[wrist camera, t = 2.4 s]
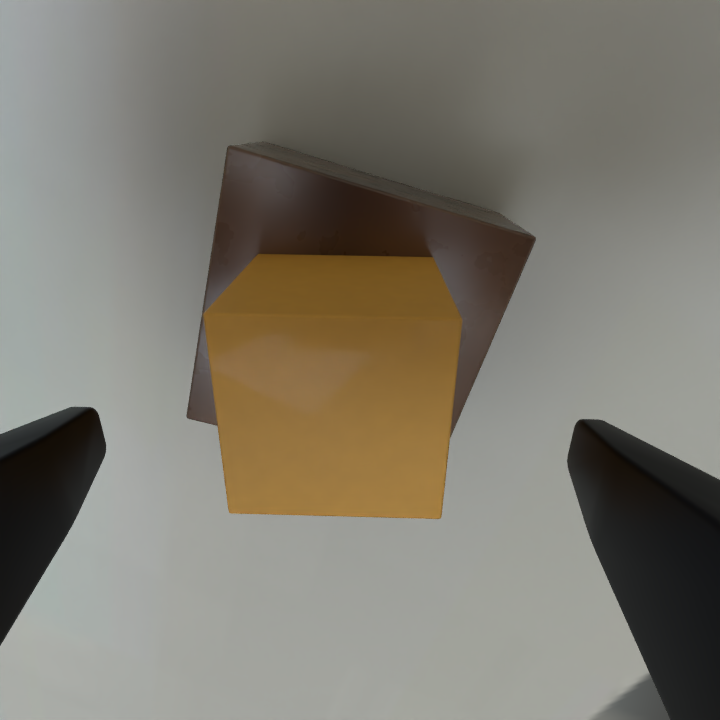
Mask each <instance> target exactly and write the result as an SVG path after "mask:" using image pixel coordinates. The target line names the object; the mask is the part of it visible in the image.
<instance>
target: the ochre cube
mask: <svg viewBox="0 0 720 720" xmlns="http://www.w3.org/2000/svg"><path fill="white" fill-rule="evenodd" d="M203 317H204V325H205V333H206V340H207V348H208V356H209V363H210V371H211V379H212V386H213V394H214V402H215V409H216V417H217V425H218V433H219V440H220V448H221V456H222V463H223V471H224V479H225V486H226V494H227V502H228V509H229V513H238V514H275V515H313V516H351V517H389V518H426V519H440V518H441V515H442V506H443V497H444V487H445V478H446V469H447V459H448V450H449V441H450V432H451V422H452V413H453V404H454V395H455V385H456V376H457V367H458V357H459V348H460V339H461V330H462V318H461V315H460V313H459V311H458V309H457V307H456V305H455V303H454V301H453V298H452V296H451V294H450V292H449V290H448V288H447V286H446V283H445V281H444V279H443V277H442V275H441V273H440V271H439V269H438V266H437V264H436V262H435V260H434V258H433V257H399V256H344V255H289V254H258V255H257V256H256V257H255V258H254V259H253V260H252V261H251V262H250V263H249V264H248V265H247V266H246V268H245V269H244V270H243V271H242V272H241V273H240V274H239V275H238V276H237V277H236V278H235V280H234V281H233V282H232V283H231V284H230V285H229V286H228V287H227V288H226V289H225V290H224V292H223V293H222V294H221V295H220V296H219V297H218V298H217V299H216V300H215V301H214V303H213V304H212V305H211V306H210V307H209V308H208V309H207V310H206V311H205V312H204V314H203Z"/></svg>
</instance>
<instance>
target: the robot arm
mask: <svg viewBox="0 0 720 720" xmlns="http://www.w3.org/2000/svg"><path fill="white" fill-rule="evenodd" d="M105 453H106V442H105V438H104V434H103V430H102V426H101V422H100V418H99V415H98V412H97V411H96V410H95V409H94V408H91V407H70V408H67V409H64V410H62V411H59V412H57V413H54V414H52V415H49V416H46V417H44V418H41V419H39V420H36V421H33V422H31V423H28V424H26V425H23V426H20V427H18V428H15V429H13V430H10V431H8V432H5V433H2V434H0V645H1V644H2V642H3V640H4V639H5V637H6V635H7V634H8V632H9V630H10V629H11V627H12V625H13V624H14V622H15V620H16V619H17V617H18V615H19V614H20V612H21V610H22V609H23V607H24V605H25V604H26V602H27V600H28V599H29V597H30V595H31V594H32V592H33V590H34V589H35V587H36V585H37V584H38V582H39V580H40V579H41V577H42V575H43V574H44V572H45V571H46V569H47V567H48V566H49V564H50V562H51V561H52V559H53V557H54V556H55V554H56V552H57V551H58V549H59V547H60V546H61V544H62V542H63V541H64V539H65V537H66V535H67V534H68V532H69V530H70V528H71V527H72V525H73V523H74V521H75V519H76V517H77V515H78V513H79V511H80V509H81V506H82V504H83V502H84V500H85V498H86V496H87V493H88V491H89V489H90V487H91V485H92V483H93V481H94V478H95V476H96V474H97V472H98V470H99V468H100V465H101V463H102V461H103V459H104V456H105ZM567 463H568V469H569V473H570V476H571V479H572V482H573V486H574V489H575V492H576V495H577V498H578V502H579V505H580V508H581V511H582V514H583V518H584V521H585V524H586V527H587V530H588V533H589V536H590V539H591V541H592V544H593V546H594V549H595V551H596V553H597V556H598V558H599V560H600V562H601V565H602V567H603V569H604V571H605V574H606V576H607V578H608V580H609V583H610V585H611V587H612V589H613V592H614V594H615V596H616V598H617V601H618V603H619V605H620V607H621V610H622V612H623V614H624V616H625V619H626V621H627V623H628V625H629V628H630V630H631V632H632V634H633V637H634V639H635V641H636V643H637V646H638V648H639V650H640V652H641V655H642V657H643V659H644V661H645V664H646V666H647V668H648V670H649V673H650V675H651V677H652V679H653V682H654V684H655V686H656V688H657V691H658V693H659V695H660V697H661V700H662V702H663V704H664V706H665V708H666V711H667V713H668V715H669V718H670V720H720V480H719V479H717V478H715V477H713V476H711V475H709V474H707V473H705V472H703V471H701V470H699V469H697V468H695V467H693V466H691V465H689V464H687V463H686V462H684V461H682V460H680V459H678V458H676V457H674V456H672V455H670V454H668V453H666V452H664V451H662V450H660V449H658V448H656V447H654V446H652V445H650V444H648V443H646V442H644V441H642V440H640V439H638V438H636V437H634V436H632V435H630V434H628V433H626V432H624V431H623V430H621V429H619V428H617V427H615V426H613V425H611V424H609V423H607V422H605V421H603V420H594V419H581V420H579V421H578V422H577V423H576V425H575V427H574V431H573V436H572V440H571V444H570V448H569V453H568V459H567Z"/></svg>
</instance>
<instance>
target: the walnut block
mask: <svg viewBox="0 0 720 720" xmlns="http://www.w3.org/2000/svg"><path fill="white" fill-rule="evenodd" d="M535 241H536V238H535V237H534V236H533V235H531V234H530V233H528V232H527V231H525V230H524V229H522V228H521V227H519V226H518V225H516V224H515V223H513V222H512V221H510V220H509V219H507V218H506V217H504V216H503V215H501V214H500V213H497V212H494V211H491V210H488V209H484V208H481V207H478V206H474V205H471V204H468V203H464V202H461V201H458V200H455V199H451V198H448V197H445V196H441V195H438V194H435V193H431V192H428V191H425V190H422V189H418V188H415V187H412V186H408V185H405V184H402V183H398V182H395V181H392V180H388V179H385V178H382V177H379V176H375V175H372V174H369V173H365V172H362V171H359V170H355V169H352V168H349V167H346V166H342V165H339V164H336V163H332V162H329V161H326V160H322V159H319V158H316V157H313V156H309V155H306V154H303V153H299V152H296V151H293V150H289V149H286V148H283V147H280V146H276V145H273V144H270V143H266V142H255V143H247V144H239V145H230V146H228V147H227V153H226V159H225V166H224V172H223V179H222V186H221V192H220V199H219V205H218V212H217V219H216V225H215V232H214V238H213V245H212V251H211V258H210V265H209V271H208V278H207V284H206V291H205V298H204V304H203V311H202V317H201V324H200V330H199V337H198V344H197V350H196V357H195V363H194V370H193V377H192V383H191V390H190V396H189V403H188V409H187V418H188V419H192V420H196V421H200V422H205V423H209V424H213V425H217V417H216V409H215V402H214V394H213V386H212V379H211V371H210V363H209V356H208V348H207V340H206V333H205V325H204V317H203V314H204V312H205V311H206V310H207V309H208V308H209V307H210V306H211V305H212V304H213V303H214V301H215V300H216V299H217V298H218V297H219V296H220V295H221V294H222V293H223V292H224V290H225V289H226V288H227V287H228V286H229V285H230V284H231V283H232V282H233V281H234V280H235V278H236V277H237V276H238V275H239V274H240V273H241V272H242V271H243V270H244V269H245V268H246V266H247V265H248V264H249V263H250V262H251V261H252V260H253V259H254V258H255V257H256V256H257V255H258V254H289V255H344V256H399V257H433V258H434V260H435V262H436V264H437V266H438V269H439V271H440V273H441V275H442V277H443V279H444V281H445V283H446V286H447V288H448V290H449V292H450V294H451V296H452V298H453V301H454V303H455V305H456V307H457V309H458V311H459V313H460V315H461V318H462V330H461V339H460V348H459V357H458V367H457V376H456V385H455V395H454V404H453V413H452V422H451V432H450V437H451V435H452V433H453V430H454V428H455V426H456V423H457V421H458V419H459V416H460V414H461V412H462V409H463V407H464V405H465V402H466V400H467V398H468V396H469V393H470V391H471V389H472V386H473V384H474V382H475V379H476V377H477V375H478V372H479V370H480V368H481V365H482V363H483V361H484V359H485V356H486V354H487V352H488V349H489V347H490V345H491V342H492V340H493V338H494V335H495V333H496V331H497V328H498V326H499V324H500V322H501V319H502V317H503V315H504V312H505V310H506V308H507V305H508V303H509V301H510V298H511V296H512V294H513V291H514V289H515V287H516V285H517V282H518V280H519V278H520V275H521V273H522V271H523V268H524V266H525V264H526V261H527V259H528V257H529V254H530V252H531V250H532V247H533V245H534V243H535ZM217 426H218V425H217Z"/></svg>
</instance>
